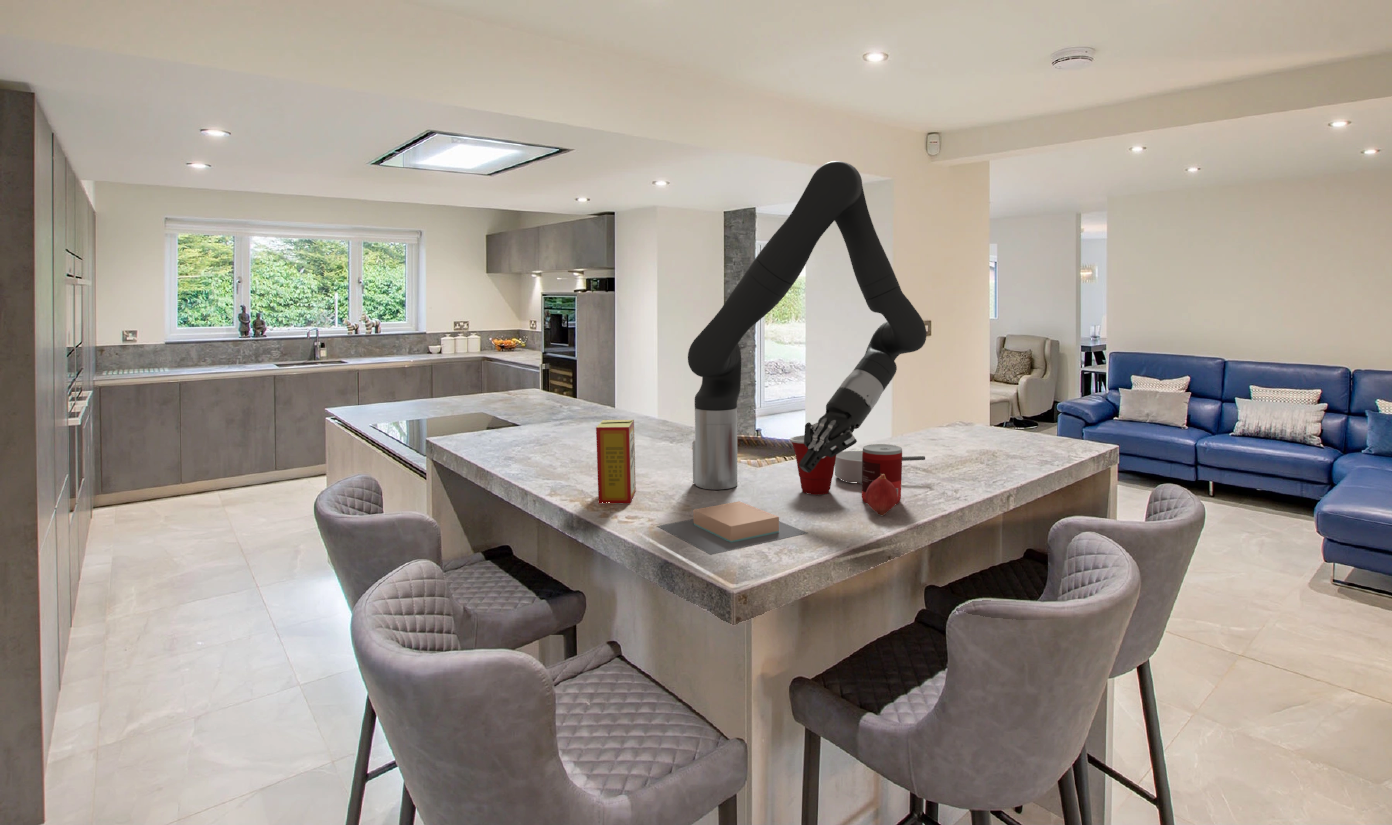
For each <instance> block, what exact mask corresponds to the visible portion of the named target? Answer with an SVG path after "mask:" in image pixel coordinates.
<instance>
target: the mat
mask: <svg viewBox="0 0 1392 825" xmlns="http://www.w3.org/2000/svg"><path fill="white" fill-rule="evenodd" d="M657 527H658V528H660V529H661V530H663V531H665V532H667V533H668V534H671V535H672V536H674V537H676V538H678V539H680V540H682V541H684V542H686V543H688V544H690V545H691V546H693V547H695V548H697V549H699V550H701V551H703V552H705V553H706V554H707V555H710V556H712V555H715V554H720V553H724V552H725V553H726V552H730V551H734V550H739V549H742V548H747V547H753V546H755V545H756V546H757V545H761V544H765V543H770V542H774V541H775V542H776V541H779V540H784V539H787V538H792V537H793V538H794V537H797V536H801V535H806V534H809V532H808V531H805V530H802V529H800V528H797V527H795V526H793V525H790V524H787V523H785V522H782V521H780V520H779V533H774V534H769V535H765V536H760V537H755V538H751V539H746V540H741V541H737V542H732V543H731V542H728V541H726V540H724V539H722V538H720V537H718V536H716V535H714V534H712V533H710V532H708V531H706V530H704V529H701V528H699V527H697V526H695V525H694V520H693V518H692V519H686V520H682V521H677V522H670V523H665V524H661V525H660V524H659V525H657V526H656V528H657Z"/></svg>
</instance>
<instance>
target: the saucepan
mask: <svg viewBox="0 0 1392 825" xmlns="http://www.w3.org/2000/svg"><path fill="white" fill-rule="evenodd" d="M862 453H863V450H859V449H858V450H856V449H855V450H853V449H851V450H843V451H842V452H840V453H838V454H837V455H836V461H835V467H834V476H835V477H836V478H837V479H840V480H841V479H842V480H844V481H843V482H845V481H847V482H846V483H849V482H857V483H862ZM907 461H908V462H911V461H926V456H924V455H923V456H921V455H918V456H917V455H915V456H914V455H913V456H912V455H911V456H902V462H907ZM842 480H841V481H842ZM857 483H856V484H857Z"/></svg>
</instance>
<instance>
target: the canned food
mask: <svg viewBox="0 0 1392 825" xmlns="http://www.w3.org/2000/svg"><path fill="white" fill-rule="evenodd" d="M862 451H863V453H862V484H861V499H862V501H863V503H865V504H866V503H867V501H866V497H865V495H866V491H867V488H868V487H869V485H870V484H871V483H872V482H873V481H874V480H875V479H877V478H878V477H880V476H881V474H885V477H886V479H887V480H888V481H890V482H891V483H892V484H893V485H894V487H895V489H896V491H897V494H898V499H897V503H896V505H898V504H900V502H901V499H902V472H903V461H902V457H903V448H902V447H901V446H898V445H895V444H890V443H888V444H885V443H874V444H872V443H871V444H867V445H864V446H862ZM867 505H868V503H867Z"/></svg>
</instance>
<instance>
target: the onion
mask: <svg viewBox="0 0 1392 825" xmlns="http://www.w3.org/2000/svg"><path fill="white" fill-rule="evenodd" d="M865 497H866V501H867V503H868V504H867V505H868V506H869V507H870V509H872V511H874V512H875V513H877V514H878V516H884V515H886V514H887V513H888V512H889V511H890V510H892V509H893V508H894V507H895V506H896V505H897V504H896V503H897V499H898V494H897V491H896V489H895V487H894V485H893V484H892V483H891V482H890V481H888V480H887V479H886V477H885V474H881V476H880V477H878V478H877V479H875V480H874V481H873V482H872V483H871V484H870V485H869V487H868V488H867V491H866V495H865ZM895 504H896V505H895Z"/></svg>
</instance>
